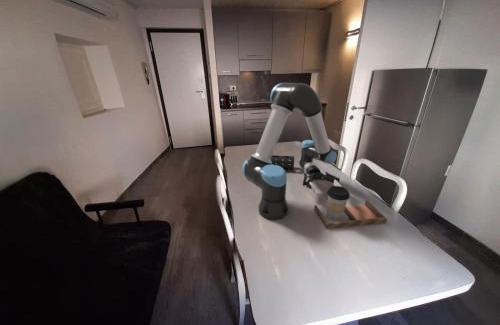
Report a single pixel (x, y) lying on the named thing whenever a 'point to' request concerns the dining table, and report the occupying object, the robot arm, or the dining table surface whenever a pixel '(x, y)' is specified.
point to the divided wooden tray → (355, 216)
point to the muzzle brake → (283, 161)
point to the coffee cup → (336, 202)
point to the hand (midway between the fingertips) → (327, 189)
